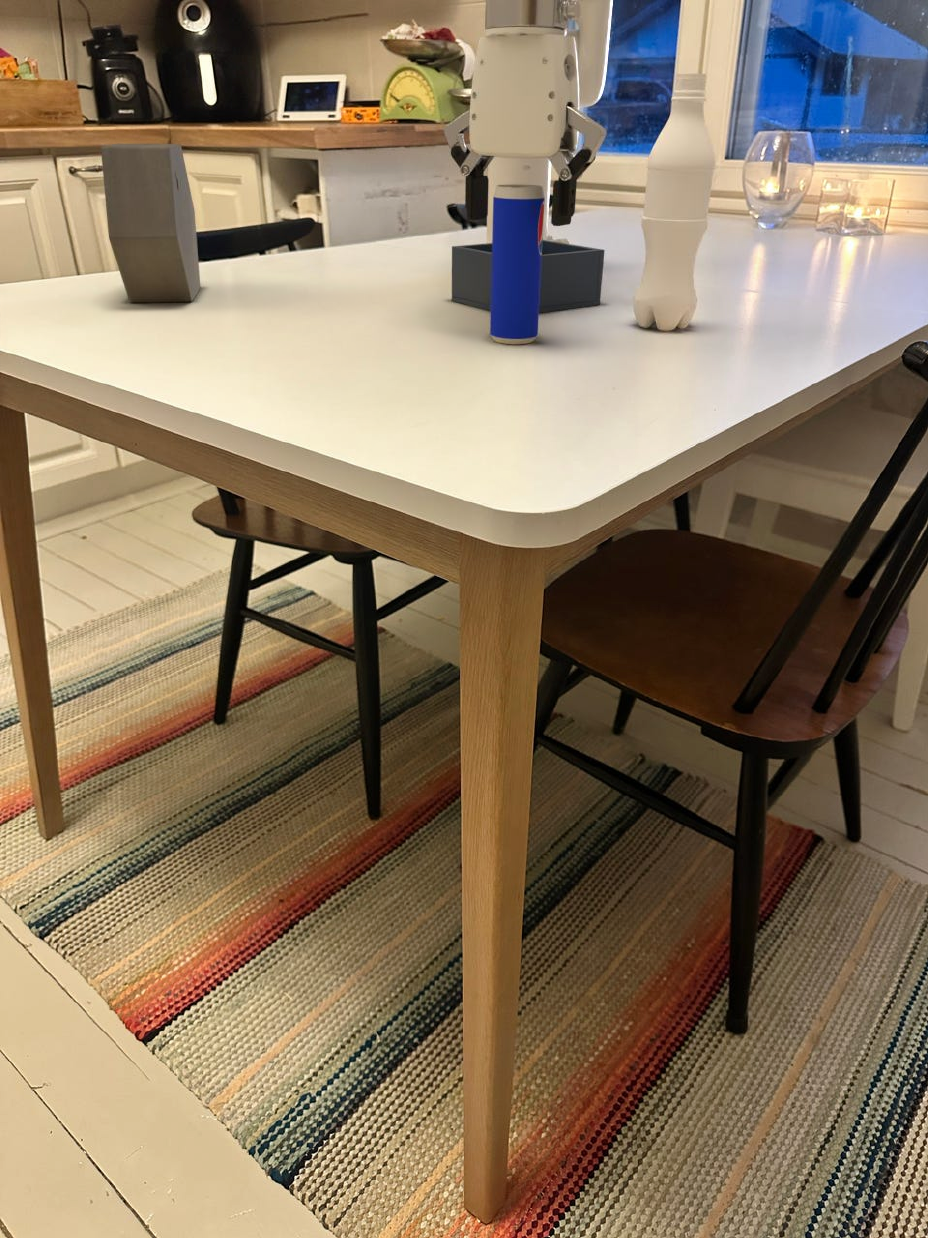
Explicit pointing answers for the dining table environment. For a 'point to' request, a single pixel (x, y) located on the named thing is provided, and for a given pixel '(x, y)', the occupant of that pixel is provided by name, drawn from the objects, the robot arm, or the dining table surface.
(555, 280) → the tub
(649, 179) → the water bottle
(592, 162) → the robot arm
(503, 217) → the beverage can
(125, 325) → the dining table surface
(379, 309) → the dining table surface
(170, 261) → the planter
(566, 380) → the dining table surface
